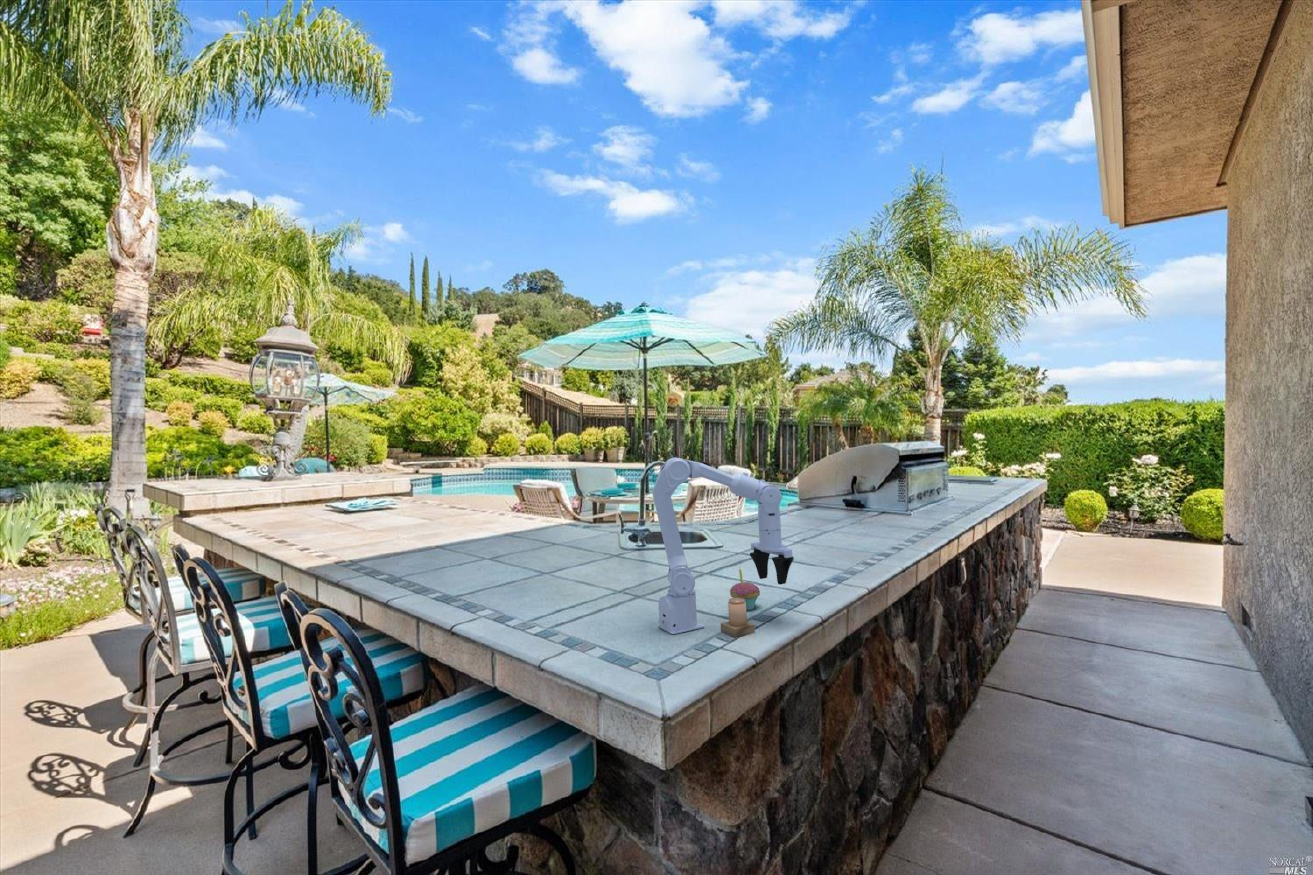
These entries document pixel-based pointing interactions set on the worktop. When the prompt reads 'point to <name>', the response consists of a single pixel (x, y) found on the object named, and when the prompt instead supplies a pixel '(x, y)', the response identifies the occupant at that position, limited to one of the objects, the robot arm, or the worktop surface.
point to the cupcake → (745, 592)
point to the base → (737, 629)
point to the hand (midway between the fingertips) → (772, 580)
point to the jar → (737, 612)
